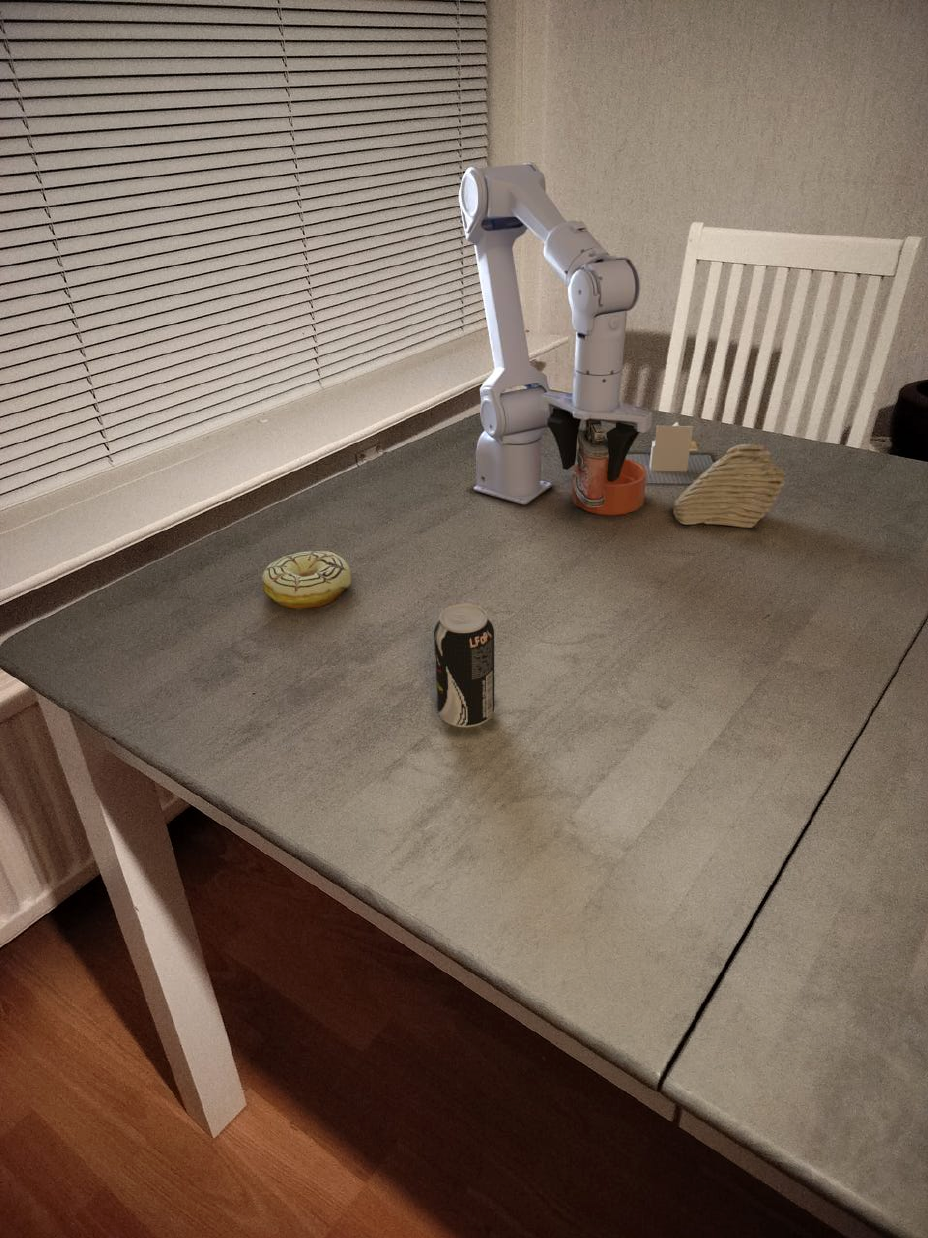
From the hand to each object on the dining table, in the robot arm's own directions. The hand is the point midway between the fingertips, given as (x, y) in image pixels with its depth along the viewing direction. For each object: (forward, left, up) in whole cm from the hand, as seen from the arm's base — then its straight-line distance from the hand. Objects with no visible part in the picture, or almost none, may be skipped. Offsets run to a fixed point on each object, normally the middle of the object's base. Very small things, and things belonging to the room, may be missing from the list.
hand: (590, 472), depth 107 cm
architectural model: (-1, +29, -11) cm, 31 cm away
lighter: (0, 0, -3) cm, 3 cm away
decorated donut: (-23, -30, -11) cm, 39 cm away
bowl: (-3, +13, -10) cm, 17 cm away
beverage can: (+7, -38, -11) cm, 40 cm away
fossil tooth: (+13, +17, -11) cm, 24 cm away
